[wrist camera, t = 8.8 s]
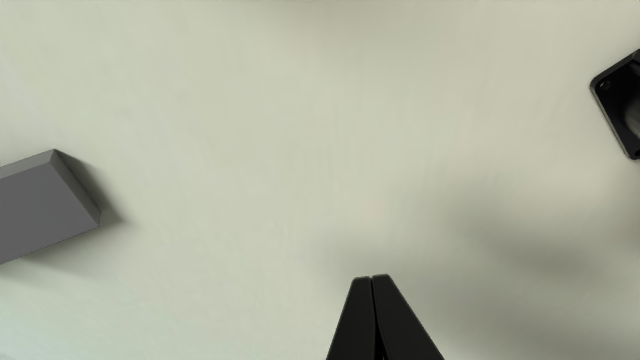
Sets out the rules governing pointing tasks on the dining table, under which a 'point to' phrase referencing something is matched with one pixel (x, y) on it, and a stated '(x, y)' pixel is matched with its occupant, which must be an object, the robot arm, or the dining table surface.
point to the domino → (41, 205)
